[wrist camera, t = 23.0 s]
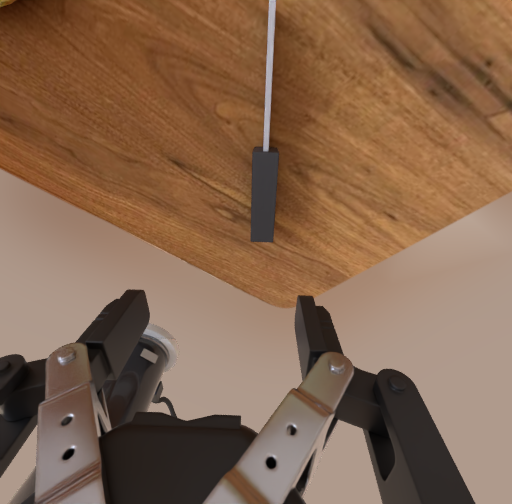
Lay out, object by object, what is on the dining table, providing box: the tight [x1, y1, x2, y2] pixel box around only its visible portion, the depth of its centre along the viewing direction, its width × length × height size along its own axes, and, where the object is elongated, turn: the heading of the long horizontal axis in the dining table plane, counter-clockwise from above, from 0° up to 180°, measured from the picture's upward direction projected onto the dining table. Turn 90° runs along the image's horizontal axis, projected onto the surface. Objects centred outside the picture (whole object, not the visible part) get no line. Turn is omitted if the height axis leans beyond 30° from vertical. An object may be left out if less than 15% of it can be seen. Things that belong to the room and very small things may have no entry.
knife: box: [251, 0, 279, 242], centre depth 24 cm, size 2×20×4 cm, turn 178°
